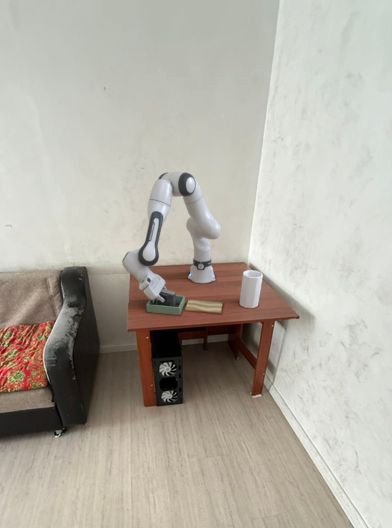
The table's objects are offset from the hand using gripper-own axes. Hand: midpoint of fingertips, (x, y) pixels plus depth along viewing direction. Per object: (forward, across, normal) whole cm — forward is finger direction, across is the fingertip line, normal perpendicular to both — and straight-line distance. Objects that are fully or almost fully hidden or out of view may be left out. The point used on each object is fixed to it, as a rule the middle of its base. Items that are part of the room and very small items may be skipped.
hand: (165, 297), depth 161 cm
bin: (+4, 0, -4) cm, 6 cm away
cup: (+37, -14, +28) cm, 48 cm away
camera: (+5, 0, -5) cm, 7 cm away
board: (+19, -4, +10) cm, 22 cm away
